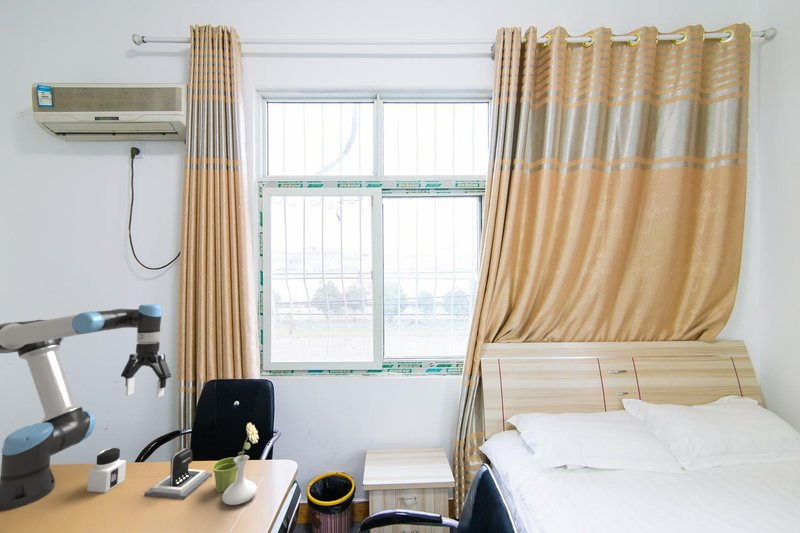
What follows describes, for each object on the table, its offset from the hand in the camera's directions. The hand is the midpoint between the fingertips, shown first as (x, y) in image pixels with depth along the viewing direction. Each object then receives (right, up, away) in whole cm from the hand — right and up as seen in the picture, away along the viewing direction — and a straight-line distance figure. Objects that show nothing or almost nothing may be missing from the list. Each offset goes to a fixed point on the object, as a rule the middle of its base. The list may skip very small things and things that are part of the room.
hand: (144, 395), depth 129 cm
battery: (+19, -31, -7) cm, 37 cm away
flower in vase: (+46, -32, -13) cm, 57 cm away
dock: (+19, -32, -7) cm, 38 cm away
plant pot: (+37, -32, -8) cm, 50 cm away
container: (-8, -31, -8) cm, 33 cm away
